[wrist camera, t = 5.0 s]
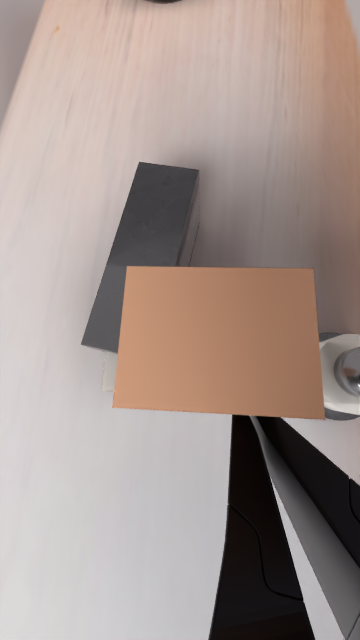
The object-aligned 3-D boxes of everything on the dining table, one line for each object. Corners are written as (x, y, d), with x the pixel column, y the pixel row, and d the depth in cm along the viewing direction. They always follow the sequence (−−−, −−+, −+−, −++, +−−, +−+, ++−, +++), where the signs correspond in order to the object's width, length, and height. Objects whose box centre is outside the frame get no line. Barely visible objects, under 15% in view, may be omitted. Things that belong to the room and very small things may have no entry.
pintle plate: (371, 424, 16) (435, 439, 11) (283, 411, 16) (313, 420, 12) (369, 341, 17) (427, 325, 12) (287, 331, 17) (316, 313, 13)
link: (369, 341, 16) (719, 248, 5) (378, 413, 15) (831, 482, 4) (119, 333, 17) (-15, 245, 6) (112, 398, 16) (-60, 423, 5)
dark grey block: (199, 223, 20) (199, 169, 15) (164, 367, 17) (150, 360, 12) (153, 216, 20) (139, 161, 15) (113, 355, 18) (80, 344, 13)
